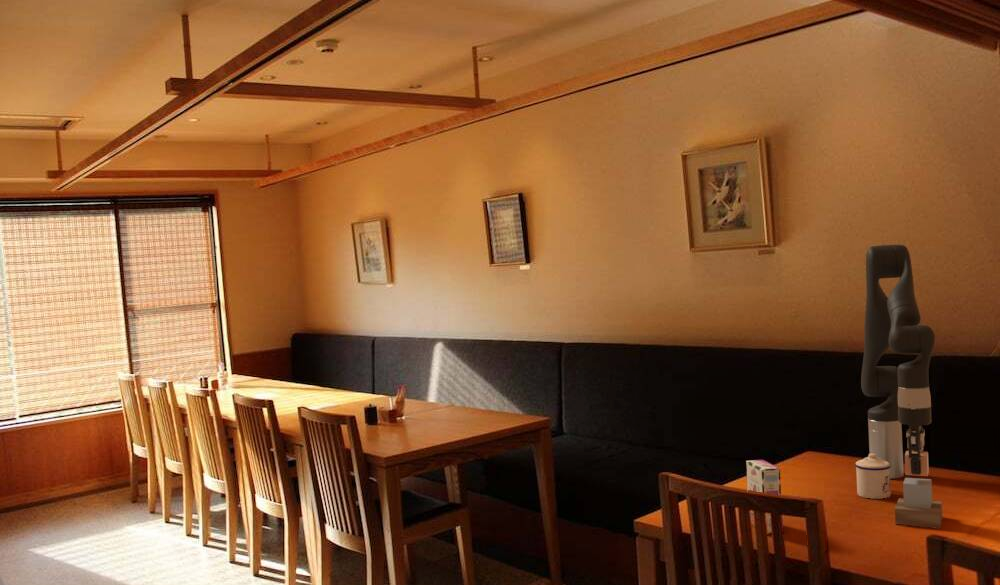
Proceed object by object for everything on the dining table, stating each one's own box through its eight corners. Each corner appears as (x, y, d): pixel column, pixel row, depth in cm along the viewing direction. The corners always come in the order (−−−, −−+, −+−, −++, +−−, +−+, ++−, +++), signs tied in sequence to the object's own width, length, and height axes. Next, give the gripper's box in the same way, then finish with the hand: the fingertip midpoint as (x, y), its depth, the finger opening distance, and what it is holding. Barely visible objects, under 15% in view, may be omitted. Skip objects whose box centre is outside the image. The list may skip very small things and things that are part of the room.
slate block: (906, 500, 223) (905, 477, 223) (932, 502, 220) (931, 479, 220) (904, 507, 218) (903, 483, 218) (930, 509, 215) (929, 485, 215)
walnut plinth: (899, 513, 226) (898, 498, 226) (942, 517, 221) (941, 501, 221) (895, 524, 217) (894, 508, 217) (940, 528, 212) (939, 512, 212)
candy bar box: (784, 533, 215) (781, 468, 214) (764, 535, 215) (761, 469, 214) (766, 520, 226) (763, 458, 226) (747, 522, 226) (744, 459, 225)
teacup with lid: (890, 500, 237) (888, 458, 237) (855, 498, 241) (853, 457, 241) (893, 489, 248) (891, 449, 247) (858, 487, 252) (857, 447, 252)
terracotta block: (907, 470, 222) (906, 450, 222) (928, 471, 219) (927, 451, 219) (905, 474, 218) (904, 455, 217) (927, 476, 215) (926, 456, 215)
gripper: (900, 399, 226) (903, 464, 227) (895, 408, 214) (897, 477, 214) (932, 400, 222) (935, 466, 223) (928, 410, 210) (931, 479, 210)
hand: (917, 471), depth 219 cm, fingers closed on terracotta block, 5 cm apart
